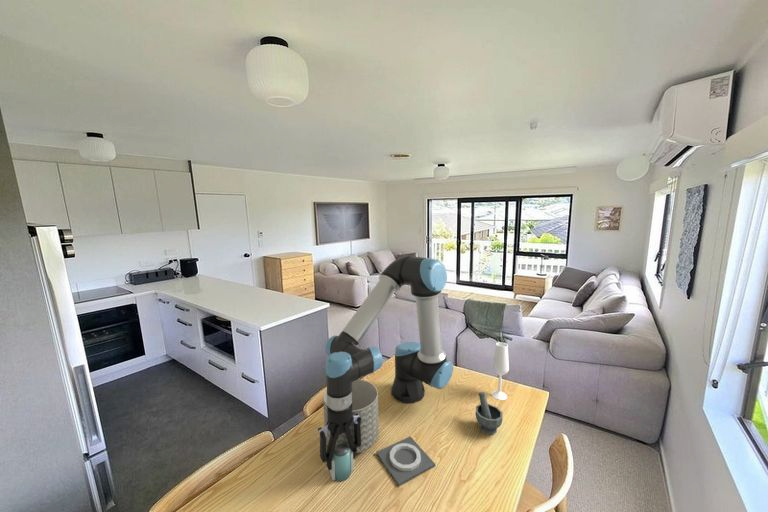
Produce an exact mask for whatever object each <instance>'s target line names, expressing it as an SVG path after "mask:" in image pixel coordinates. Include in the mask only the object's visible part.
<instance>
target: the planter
mask: <svg viewBox="0 0 768 512" xmlns="http://www.w3.org/2000/svg"><path fill="white" fill-rule="evenodd" d="M322 398H323V399H322V400H323V420H324V421H323V423H324V424H323V425H324V426H323V427H325V426H326V424H327V421H328V414H327V389H326V390H325V392H324V394H323V397H322ZM356 414H359V416H360V417H361V419H362V420H361V424H360V431H361V446H360V447H357V448H356V449H357V452H356V454H359V453H362V452H364V451H367V450H368V449H369V448H371V447H372V446H373V445H374V444H375V442H377V439H378V437H379V391H378V389H377V387H376V385H374V384H373V383H371V382H370V381H368V380H365V379H361V378H359V379H358V380H356V381H354V382H352V415H353V416H355V415H356ZM349 428H350V431H351V435H352V438H353V441H355V439H354V422H352V424H351V425H350V427H349ZM329 438H330V431H329V430H328V431H327V436H326V446H328V443H329ZM341 443H343V444H346V445H348V446H349V447H350V445H349V442H348V439H347V437H346V434H345V433H342V434H340V435H339V436H338V440H337V441H336V445H338V444H341ZM336 445H335V446H336Z"/></svg>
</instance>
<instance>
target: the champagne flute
mask: <svg viewBox="0 0 768 512" xmlns="http://www.w3.org/2000/svg"><path fill="white" fill-rule="evenodd" d="M495 343H496V344H495V349H494V355H493V362H492V369H493V371H494V372H495V373H496V374H497V375H498V385H497V386H498V389H497V390H494V391H492V392H491V393H490V394H491V396H492V397H493V398H494V399H496V400H499V401H505V400H507V399H508V395H507V394H506V393H505V392H503V391H502V381H503V379H502V376H504V375H506V374H507V373H508V372H509V371H510V363H509V348H508V347H509V345H508V343H505V342H502V341H501V342H500V341H499V342H495Z"/></svg>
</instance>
